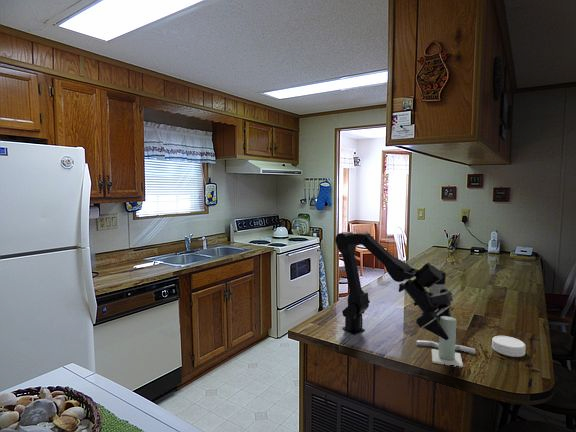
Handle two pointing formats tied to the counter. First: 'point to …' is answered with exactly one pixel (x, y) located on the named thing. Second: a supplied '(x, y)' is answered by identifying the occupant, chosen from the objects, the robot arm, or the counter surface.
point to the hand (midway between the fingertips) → (452, 334)
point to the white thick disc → (508, 346)
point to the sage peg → (448, 345)
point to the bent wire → (436, 345)
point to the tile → (437, 359)
